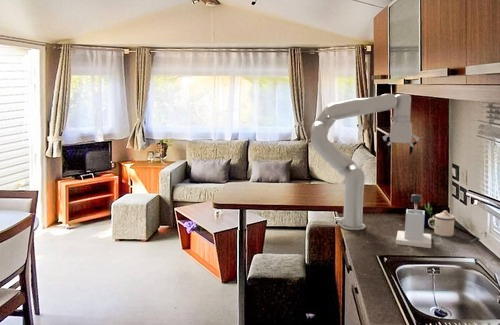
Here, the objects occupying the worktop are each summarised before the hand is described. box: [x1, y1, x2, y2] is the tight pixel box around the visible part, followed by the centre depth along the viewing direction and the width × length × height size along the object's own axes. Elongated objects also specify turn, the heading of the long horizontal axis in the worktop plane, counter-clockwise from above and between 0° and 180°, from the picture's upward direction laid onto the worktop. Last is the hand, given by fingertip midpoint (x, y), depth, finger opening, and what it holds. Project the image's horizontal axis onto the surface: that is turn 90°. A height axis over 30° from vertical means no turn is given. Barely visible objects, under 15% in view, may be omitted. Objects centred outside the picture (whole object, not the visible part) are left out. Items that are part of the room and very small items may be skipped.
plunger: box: [410, 193, 423, 214], centre depth 206 cm, size 6×6×18 cm
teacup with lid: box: [427, 210, 456, 238], centre depth 218 cm, size 12×9×12 cm
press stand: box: [395, 208, 432, 249], centre depth 206 cm, size 15×15×14 cm
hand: (399, 153), depth 221 cm, fingers open, 9 cm apart
